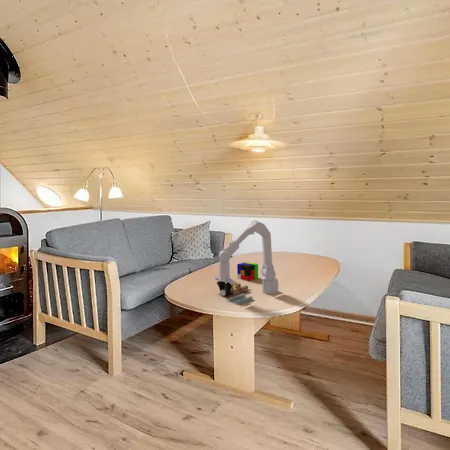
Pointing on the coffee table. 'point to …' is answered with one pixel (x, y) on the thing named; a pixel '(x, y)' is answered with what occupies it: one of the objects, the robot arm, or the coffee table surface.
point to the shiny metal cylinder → (224, 292)
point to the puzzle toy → (247, 271)
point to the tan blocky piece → (235, 285)
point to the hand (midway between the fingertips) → (225, 294)
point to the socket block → (238, 290)
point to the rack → (240, 299)
